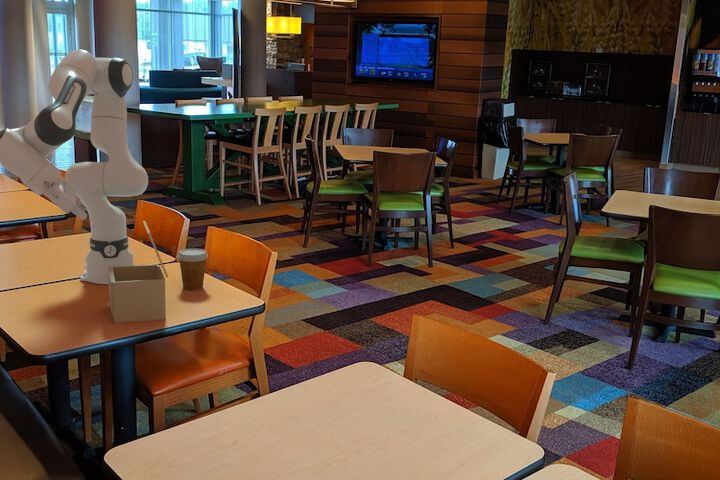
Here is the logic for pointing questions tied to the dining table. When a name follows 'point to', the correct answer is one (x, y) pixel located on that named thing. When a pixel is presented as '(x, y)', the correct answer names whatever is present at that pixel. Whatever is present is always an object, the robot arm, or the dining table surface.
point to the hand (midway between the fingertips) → (85, 214)
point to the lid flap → (155, 249)
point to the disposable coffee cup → (192, 267)
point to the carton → (137, 293)
